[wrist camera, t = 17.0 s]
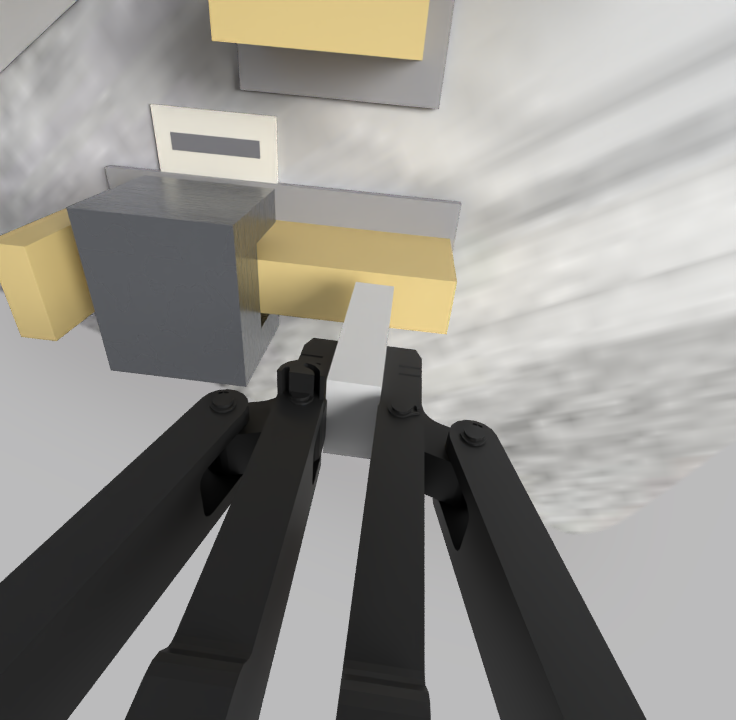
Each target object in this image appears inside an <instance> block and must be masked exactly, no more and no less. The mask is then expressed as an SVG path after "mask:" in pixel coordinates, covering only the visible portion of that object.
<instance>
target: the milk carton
mask: <svg viewBox="0 0 736 720" xmlns="http://www.w3.org/2000/svg"><path fill="white" fill-rule="evenodd" d="M76 1H77V0H0V72H1V71H2V70H3V69H4V68H6V67H7V66H8V65H9V64H10V63H11V62H12V61H13V60H14V59H15V58H16V57H17V56H18V55H19V54H20V53H22V52H23V51H24V50H25V49H26V48H27V47H28V46H29V45H30V44H31V43H32V42H33V41H34V40H35V39H36V38H38V37H39V36H40V35H41V34H42V33H43V32H44V31H45V30H46V29H47V28H48V27H49V26H50V25H51V24H52V23H53V22H55V21H56V20H57V19H58V18H59V17H60V16H61V15H62V14H63V13H64V12H65V11H66V10H67V9H68V8H69V7H71V6H72V5H73V4H74V3H75V2H76Z"/></svg>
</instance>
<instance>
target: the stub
mask: <svg viewBox="0 0 736 720" xmlns="http://www.w3.org/2000/svg"><path fill="white" fill-rule="evenodd" d="M208 1H209V13H210V24H211V36H212V41H219V42H230V43H237V47H238V63H239V79H240V90H250V91H260V92H270V93H280V94H291V95H301V96H311V97H321V98H331V99H342V100H352V101H362V102H372V103H383V104H393V105H403V106H413V107H423V108H434V109H439V105H440V98H441V91H442V84H443V78H444V71H445V64H446V57H447V50H448V43H449V36H450V29H451V22H452V15H453V8H454V1H455V0H208Z"/></svg>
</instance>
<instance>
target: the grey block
mask: <svg viewBox="0 0 736 720" xmlns="http://www.w3.org/2000/svg"><path fill="white" fill-rule="evenodd" d="M66 209H67V212H68V216H69V219H70V223H71V227H72V230H73V234H74V238H75V241H76V245H77V248H78V252H79V256H80V259H81V263H82V267H83V270H84V274H85V278H86V281H87V285H88V288H89V292H90V296H91V299H92V303H93V307H94V310H95V314H96V318H97V321H98V325H99V328H100V332H101V336H102V339H103V343H104V347H105V350H106V354H107V358H108V361H109V365H110V368H111V370H113V371H121V372H130V373H138V374H146V375H154V376H163V377H171V378H179V379H188V380H196V381H204V382H212V383H220V384H229V385H237V386H245V387H246V386H247V384H248V383H249V381H250V379H251V377H252V375H253V373H254V371H255V369H256V368H257V366H258V364H259V362H260V360H261V358H262V356H263V355H264V353H265V351H266V349H267V347H268V345H269V343H270V341H271V340H272V338H273V336H274V334H275V332H276V330H277V328H278V326H279V315H276V314H267V313H260V296H259V278H258V260H257V242H258V241H259V240H260V239H261V238H262V237H263V236H264V235H265V233H266V232H267V231H268V230H269V229H270V228H271V227H272V226H273V225H274V223H275V222H276V216H275V189H273V188H263V187H254V186H244V185H235V184H225V183H216V182H206V181H196V180H187V179H177V178H168V177H158V176H148V175H143V176H140V177H138V178H136V179H133V180H131V181H128V182H126V183H124V184H121V185H119V186H116V187H114V188H112V189H109V190H107V191H105V192H102V193H100V194H97V195H95V196H93V197H90V198H88V199H85V200H83V201H81V202H78V203H76V204H73V205H71V206H69V207H66Z"/></svg>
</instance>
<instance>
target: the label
mask: <svg viewBox="0 0 736 720" xmlns="http://www.w3.org/2000/svg"><path fill="white" fill-rule="evenodd" d="M150 106H151V112H152V119H153V125H154V131H155V138H156V144H157V151H158V157H159V163H160V170H161V171H162V172H171V173H181V174H190V175H200V176H209V177H219V178H228V179H238V180H247V181H257V182H266V183H276V184H277V183H278V158H277V120H276V116H267V115H257V114H247V113H237V112H227V111H217V110H207V109H197V108H187V107H177V106H166V105H156V104H150Z"/></svg>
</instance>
